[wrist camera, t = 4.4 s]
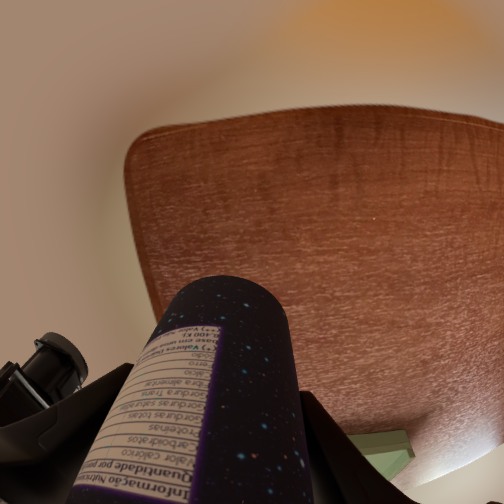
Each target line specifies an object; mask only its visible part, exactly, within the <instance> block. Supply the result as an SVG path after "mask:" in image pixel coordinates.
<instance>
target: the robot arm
mask: <svg viewBox="0 0 504 504" xmlns="http://www.w3.org/2000/svg"><path fill="white" fill-rule="evenodd" d="M34 343H35V347H36V350H37V351H36V352H35V353H34V355H33V356H32V357H31V358H30V359H29V360H28V361H27V362H26V363H25V364H24V365H23V366H22V367H21V368H20V365H19V364H18V363H15V364H13V363H12V362H10V361H8V362H7V363H6V365H4V367H2V369H1V370H0V504H65V503H66V500H67V498H68V496H69V493H70V491H71V489H72V487H73V485H74V482H75V480H76V478H77V476H78V474H79V472H80V469H81V467H82V465H83V463H84V461H85V459H86V457H87V455H88V453H89V451H90V449H91V447H92V445H93V443H94V440H95V438H96V436H97V435H98V433H99V431H100V429H101V427H102V425H103V423H104V421H105V419H106V417H107V415H108V413H109V411H110V409H111V407H112V405H113V404H114V402H115V400H116V398H117V396H118V394H119V392H120V390H121V389H122V387H123V385H124V383H125V381H126V379H127V378H128V376H129V374H130V372H131V370H132V369H133V367H134V364H130V363H124V364H123V365H121V366H119V367H118V368H116V369H114V370H113V371H111V372H109V373H107V374H106V375H104V376H102V377H101V378H99V379H98V380H96V381H94V382H92V383H91V384H89V385H87V386H86V387H84V388H82V387H81V384H80V381H79V377H78V374H77V371H76V368H75V364H74V361H73V358H72V355H71V354H70V353H69V352H66V351H64V350H61V349H59V348H56V347H54V346H52V345H49V344H47V343H45V342H42V341H40V340H38V339H36V340H35V341H34ZM9 378H10V380H9ZM75 390H78V391H77V392H75V393H73V392H74V391H75ZM299 394H300V400H301V407H302V414H303V421H304V428H305V435H306V442H307V449H308V457H309V464H310V472H311V480H312V488H313V496H314V504H420V503H417V502H415V501H413V500H411V499H410V498H409V497H407V496H406V495H404V493H402V492H401V491H400V490H399V489H398V488H396V487H395V486H394V485H393V484H392V483H391V482H389V481H388V480H387V479H386V478H385V477H384V476H383V475H382V474H381V473H379V472H378V471H377V470H376V469H375V467H374V466H373V465H372V464H371V463H370V462H369V461H368V460H367V459H366V458H365V456H364V455H362V453H361V452H360V451H359V449H358V448H357V447H356V446H355V445H354V444H353V442H352V441H351V440H350V439H349V438H348V436H347V435H346V434H345V433H344V432H343V431H342V429H341V428H340V427H339V426H338V424H337V423H336V422H335V421H334V420H333V418H332V417H331V416H330V415H329V414H328V412H327V411H326V410H325V409H324V407H323V406H322V405H321V404H320V402H319V401H318V400H317V399H316V397H315V396H314V395H313V394H312V393H311V392H310V391H299ZM487 504H502V503H499V502H494V501H490V502H488V503H487Z"/></svg>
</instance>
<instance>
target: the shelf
mask: <svg viewBox="0 0 504 504" xmlns="http://www.w3.org/2000/svg"><path fill="white" fill-rule="evenodd" d="M347 436H348V438H349V439H350V440H351V441H352V442H353V444H354V445H355V446H356V447H357V448H358V449H359V451H360V452H361V453H362V455H364V456H365V458H366V459H367V460H368V461H369V462H370V463H371V464H372V465H373V466H374V467H375V469H376V470H377V471H378V472H379V473H381V474H382V475H383V476H384V477H385V478H386V479H387V480H388V481H389V482H390V481H391V480H392V479H393V478H394V477H395V476H396V475H397V474H399V473H400V472H401V471H402V470H403V469H404V468H405V467H406V466H407V465H408V464H409V463H410V462H411V461H412V460H413V459H414V458H415V454H414V451H413V449H412V447H411V444H410V442H409V439H408V436H407V434H406V432H405V429H403V430H396V431H389V432H380V433H371V434H358V435H347Z"/></svg>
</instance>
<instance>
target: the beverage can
mask: <svg viewBox="0 0 504 504" xmlns="http://www.w3.org/2000/svg"><path fill="white" fill-rule="evenodd" d="M65 504H314V496H313V488H312V480H311V472H310V464H309V457H308V449H307V442H306V435H305V428H304V421H303V414H302V407H301V400H300V394H299V387H298V381H297V374H296V368H295V362H294V356H293V349H292V343H291V337H290V331H289V325H288V320H287V317H286V314H285V311H284V309H283V308H282V306H281V304H280V303H279V302H278V300H277V299H276V298H275V297H274V296H273V295H272V294H271V293H270V292H269V291H267V290H266V289H265V288H263V287H262V286H260V285H258V284H256V283H254V282H252V281H249V280H247V279H244V278H240V277H235V276H226V275H219V276H210V277H205V278H201V279H198V280H196V281H194V282H192V283H190V284H188V285H187V286H185V287H184V288H182V289H181V290H180V291H179V292H178V293H177V294H176V295H175V297H174V298H173V300H172V301H171V303H170V305H169V306H168V308H167V310H166V311H165V313H164V315H163V316H162V318H161V320H160V321H159V323H158V325H157V327H156V328H155V330H154V332H153V334H152V335H151V337H150V339H149V340H148V342H147V344H146V346H145V347H144V349H143V351H142V353H141V354H140V356H139V358H138V360H137V361H136V363H135V365H134V367H133V369H132V370H131V372H130V374H129V376H128V378H127V379H126V381H125V383H124V385H123V387H122V389H121V390H120V392H119V394H118V396H117V398H116V400H115V402H114V404H113V405H112V407H111V409H110V411H109V413H108V415H107V417H106V419H105V421H104V423H103V425H102V427H101V429H100V431H99V433H98V435H97V436H96V438H95V440H94V443H93V445H92V447H91V449H90V451H89V453H88V455H87V457H86V459H85V461H84V463H83V465H82V467H81V469H80V472H79V474H78V476H77V478H76V480H75V482H74V485H73V487H72V489H71V491H70V493H69V496H68V498H67V500H66V503H65Z"/></svg>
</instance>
